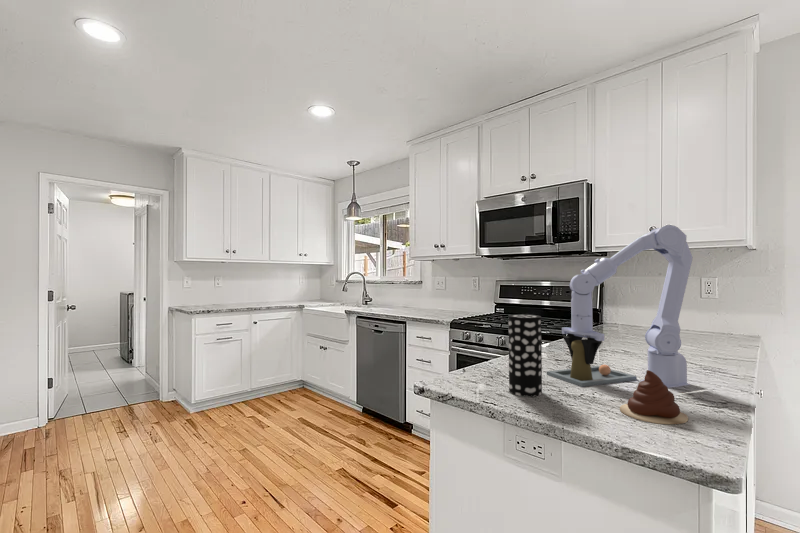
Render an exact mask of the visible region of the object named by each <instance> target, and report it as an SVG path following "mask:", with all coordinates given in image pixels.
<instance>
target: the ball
mask: <svg viewBox="0 0 800 533" xmlns="http://www.w3.org/2000/svg"><path fill="white" fill-rule="evenodd" d="M599 366H600V367H599V372H600V373H601V374H602V375H604V376H607V375H609V374H610V372H611V367H610V366H609V365H608V364H601V365H599Z"/></svg>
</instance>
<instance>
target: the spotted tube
mask: <svg viewBox="0 0 800 533" xmlns="http://www.w3.org/2000/svg"><path fill="white" fill-rule="evenodd" d="M542 343H543V342H542V316H541V315H536V314H508V391H509V393H511V394H512V395H515V396H519V397H538V396H541V395H543V377H542V376H543V369H542V367H543V364H542V363H543V361H542V360H543V357H542V356H543V355H542V354H543V352H542V350H543V349H542Z"/></svg>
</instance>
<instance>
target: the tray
mask: <svg viewBox="0 0 800 533" xmlns="http://www.w3.org/2000/svg"><path fill="white" fill-rule="evenodd" d="M600 366H601V365H593V366H591V372H592V378H593V380H587V381H580V380H577V379H574V378H571V377H570V374H571V368H566V369H558V370H557V369H556V370H546V376H548V377H552V378H555V379H558V380H561V381H563V382H567V383H569V384H572V385H575V386H577V387H581V388H582V387H583V388H584V387H591V386H592V387H593V386H598V385H599V386H600V385H608V384H615V383H616V384H617V383H622V382H624V383H625V382H630V381H637V377H638V376H637V375H633V374H630V373H627V372H623V371H618V370H615V369H611V368H610V369H611V372H610V374H609V375H607V376H604V375H602V374H601V373H600V372H599V367H600Z"/></svg>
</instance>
